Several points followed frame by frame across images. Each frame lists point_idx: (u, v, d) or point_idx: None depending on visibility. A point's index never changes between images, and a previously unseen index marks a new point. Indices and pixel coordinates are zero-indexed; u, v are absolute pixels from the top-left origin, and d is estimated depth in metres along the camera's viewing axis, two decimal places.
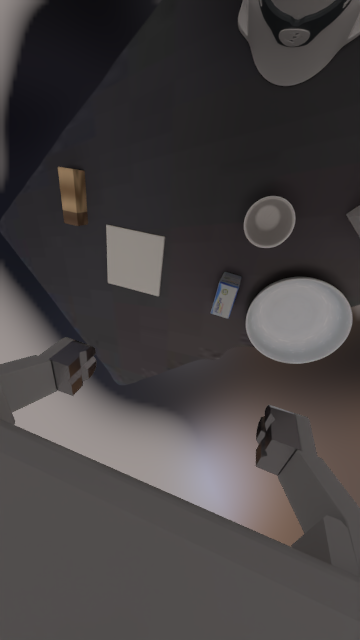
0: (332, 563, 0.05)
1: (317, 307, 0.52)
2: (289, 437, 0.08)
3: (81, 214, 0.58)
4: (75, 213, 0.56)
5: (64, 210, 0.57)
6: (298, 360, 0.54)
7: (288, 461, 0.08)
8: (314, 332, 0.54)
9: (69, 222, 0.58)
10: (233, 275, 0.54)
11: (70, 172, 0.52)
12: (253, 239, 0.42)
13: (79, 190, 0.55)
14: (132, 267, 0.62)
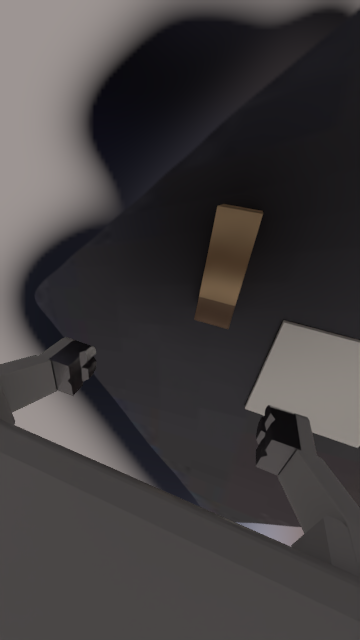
0: (332, 563, 0.05)
1: None
2: (289, 437, 0.08)
3: None
4: (230, 306, 0.24)
5: (201, 296, 0.25)
6: None
7: (288, 461, 0.08)
8: None
9: (208, 320, 0.26)
10: None
11: (250, 222, 0.20)
12: None
13: None
14: (316, 398, 0.30)
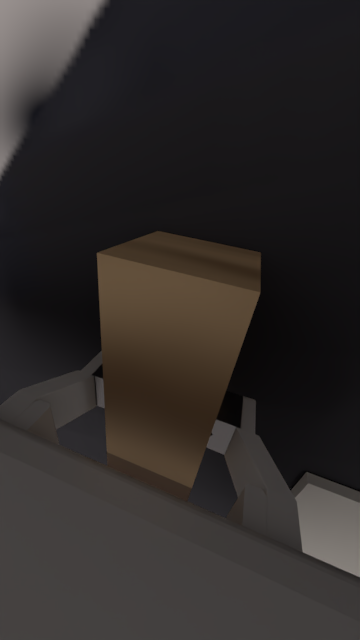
0: (243, 524, 0.05)
1: None
2: (231, 417, 0.08)
3: None
4: (181, 486, 0.10)
5: (113, 451, 0.10)
6: None
7: (231, 439, 0.08)
8: None
9: None
10: None
11: (214, 313, 0.05)
12: None
13: None
14: None
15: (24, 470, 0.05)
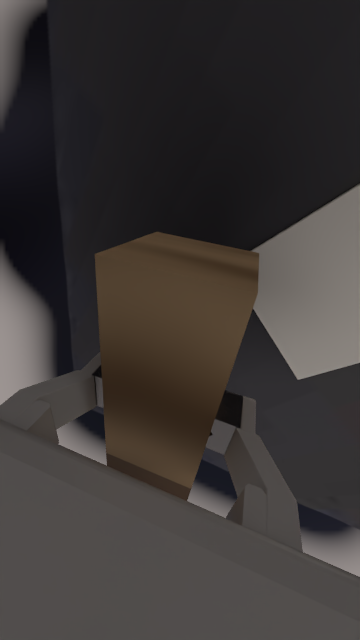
0: (243, 524, 0.05)
1: None
2: (231, 417, 0.08)
3: None
4: (181, 487, 0.10)
5: (112, 452, 0.10)
6: None
7: (231, 440, 0.08)
8: None
9: None
10: None
11: (212, 314, 0.05)
12: None
13: None
14: (349, 307, 0.22)
15: (24, 470, 0.05)
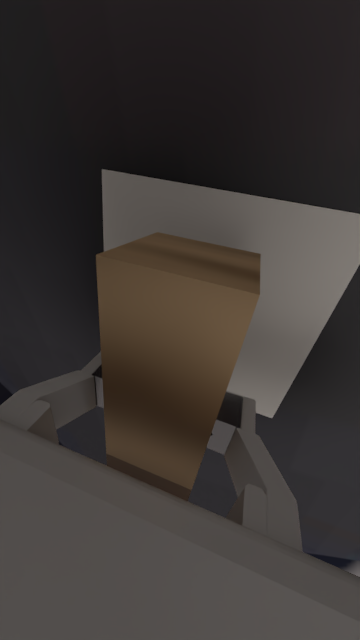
0: (243, 524, 0.05)
1: None
2: (231, 417, 0.08)
3: None
4: (181, 488, 0.10)
5: (112, 453, 0.10)
6: None
7: (231, 439, 0.08)
8: None
9: None
10: None
11: (214, 315, 0.05)
12: None
13: None
14: None
15: (24, 470, 0.05)
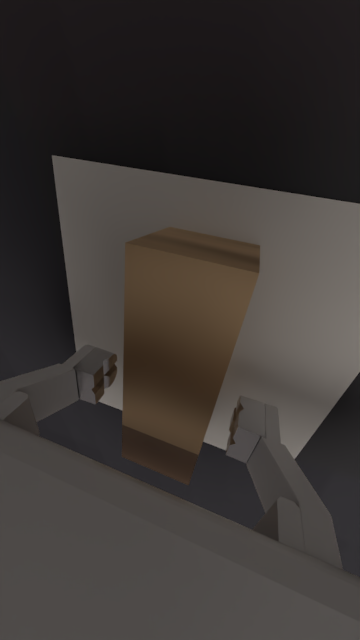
0: (279, 540, 0.05)
1: None
2: (255, 425, 0.08)
3: None
4: (189, 453, 0.11)
5: (127, 424, 0.12)
6: None
7: (255, 448, 0.08)
8: None
9: (147, 464, 0.13)
10: None
11: (222, 292, 0.07)
12: None
13: None
14: None
15: (24, 470, 0.05)
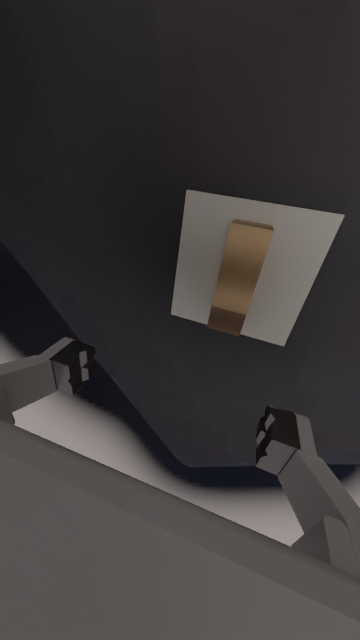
0: (332, 563, 0.05)
1: None
2: (289, 437, 0.08)
3: None
4: (242, 315, 0.26)
5: (213, 306, 0.26)
6: None
7: (289, 461, 0.08)
8: None
9: (220, 328, 0.27)
10: None
11: (262, 237, 0.21)
12: None
13: None
14: None
15: (24, 470, 0.05)
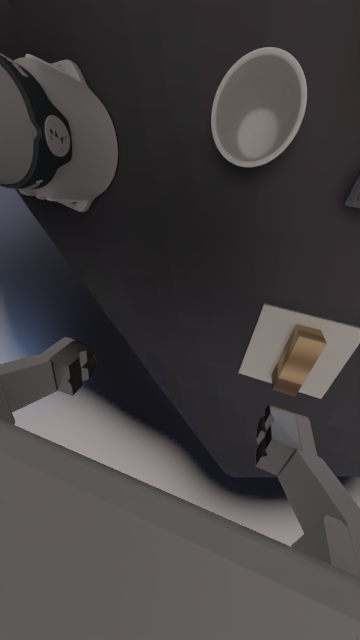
0: (332, 563, 0.05)
1: None
2: (289, 437, 0.08)
3: None
4: (299, 385, 0.39)
5: (279, 377, 0.40)
6: None
7: (289, 461, 0.08)
8: None
9: (282, 391, 0.41)
10: (357, 183, 0.28)
11: (318, 346, 0.35)
12: (283, 141, 0.22)
13: None
14: None
15: (24, 470, 0.05)
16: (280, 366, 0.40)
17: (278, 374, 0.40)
